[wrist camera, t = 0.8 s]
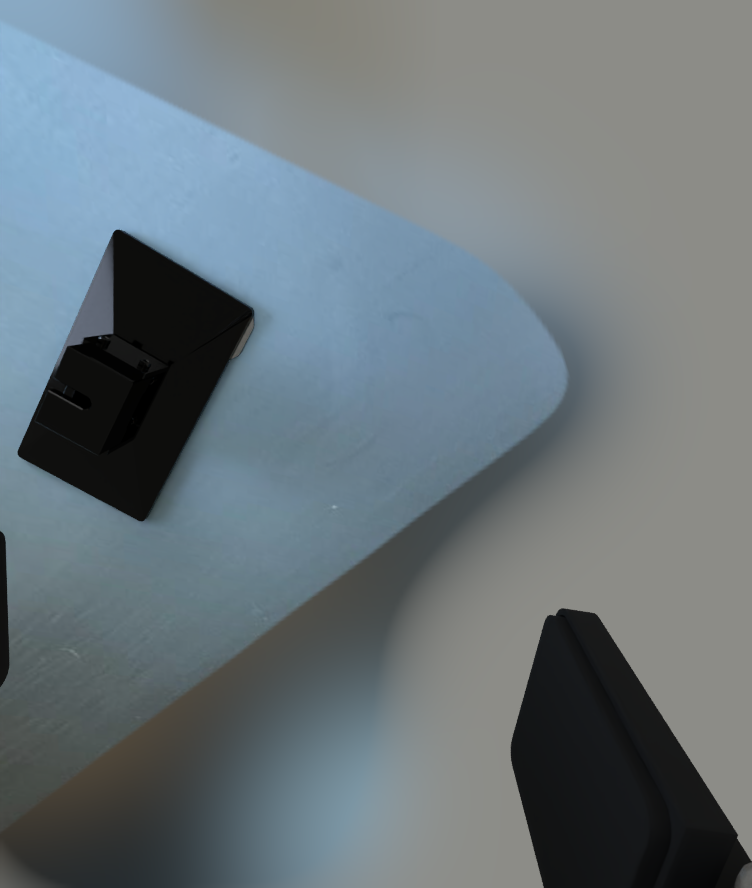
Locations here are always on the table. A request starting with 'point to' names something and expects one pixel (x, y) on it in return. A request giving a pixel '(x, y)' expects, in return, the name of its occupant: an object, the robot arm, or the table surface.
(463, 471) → the table surface
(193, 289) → the build plate
